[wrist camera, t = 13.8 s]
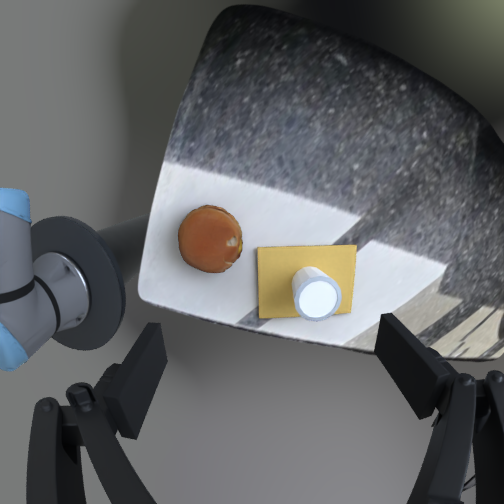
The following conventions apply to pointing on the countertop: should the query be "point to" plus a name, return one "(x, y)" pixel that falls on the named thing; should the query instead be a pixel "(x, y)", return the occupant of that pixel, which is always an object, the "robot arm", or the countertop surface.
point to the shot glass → (315, 294)
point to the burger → (210, 239)
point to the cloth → (292, 260)
